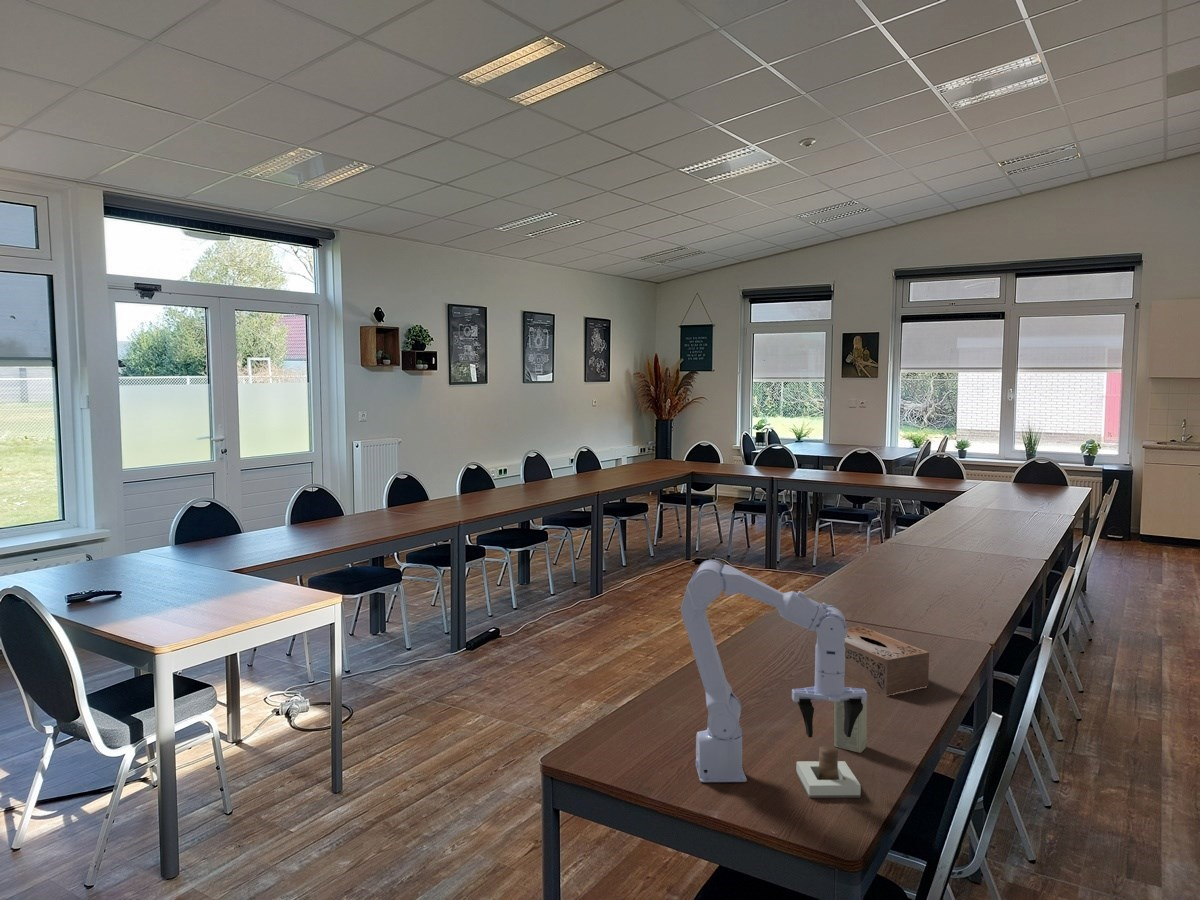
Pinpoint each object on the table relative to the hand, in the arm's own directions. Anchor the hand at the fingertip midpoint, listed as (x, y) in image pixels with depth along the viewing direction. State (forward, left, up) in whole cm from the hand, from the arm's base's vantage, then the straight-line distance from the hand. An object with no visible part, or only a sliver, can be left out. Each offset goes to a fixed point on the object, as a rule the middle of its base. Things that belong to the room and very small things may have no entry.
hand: (828, 735), depth 160 cm
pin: (0, 0, -10) cm, 10 cm away
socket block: (0, 0, -10) cm, 10 cm away
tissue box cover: (+30, +60, -11) cm, 68 cm away
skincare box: (+10, +17, -11) cm, 22 cm away
